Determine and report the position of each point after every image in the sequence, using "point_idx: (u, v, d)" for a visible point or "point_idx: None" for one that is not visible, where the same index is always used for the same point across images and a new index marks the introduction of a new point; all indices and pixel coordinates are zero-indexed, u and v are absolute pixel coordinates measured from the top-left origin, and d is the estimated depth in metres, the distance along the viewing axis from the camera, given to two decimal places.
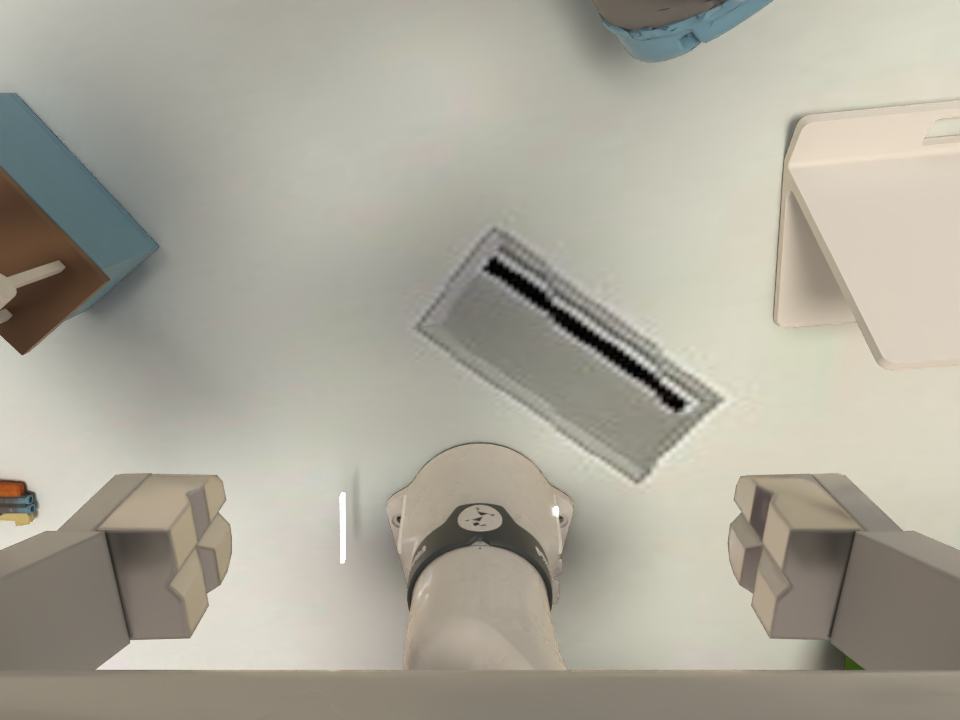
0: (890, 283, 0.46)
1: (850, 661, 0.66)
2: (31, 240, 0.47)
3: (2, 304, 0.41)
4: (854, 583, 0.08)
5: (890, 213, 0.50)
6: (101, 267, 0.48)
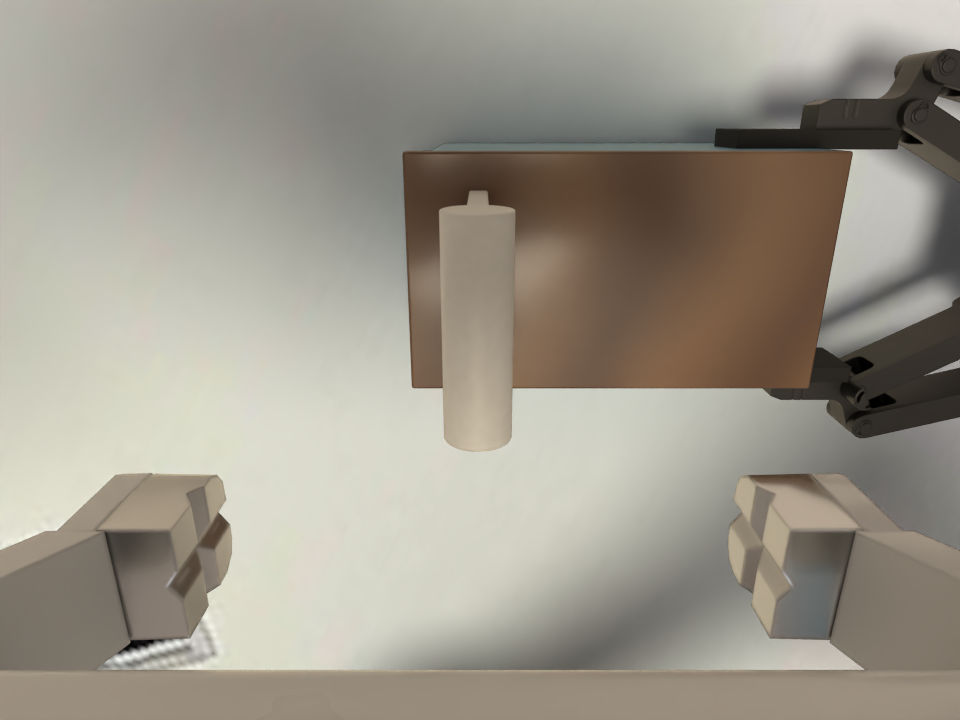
0: None
1: None
2: (539, 346, 0.27)
3: (444, 419, 0.20)
4: (854, 583, 0.08)
5: None
6: None
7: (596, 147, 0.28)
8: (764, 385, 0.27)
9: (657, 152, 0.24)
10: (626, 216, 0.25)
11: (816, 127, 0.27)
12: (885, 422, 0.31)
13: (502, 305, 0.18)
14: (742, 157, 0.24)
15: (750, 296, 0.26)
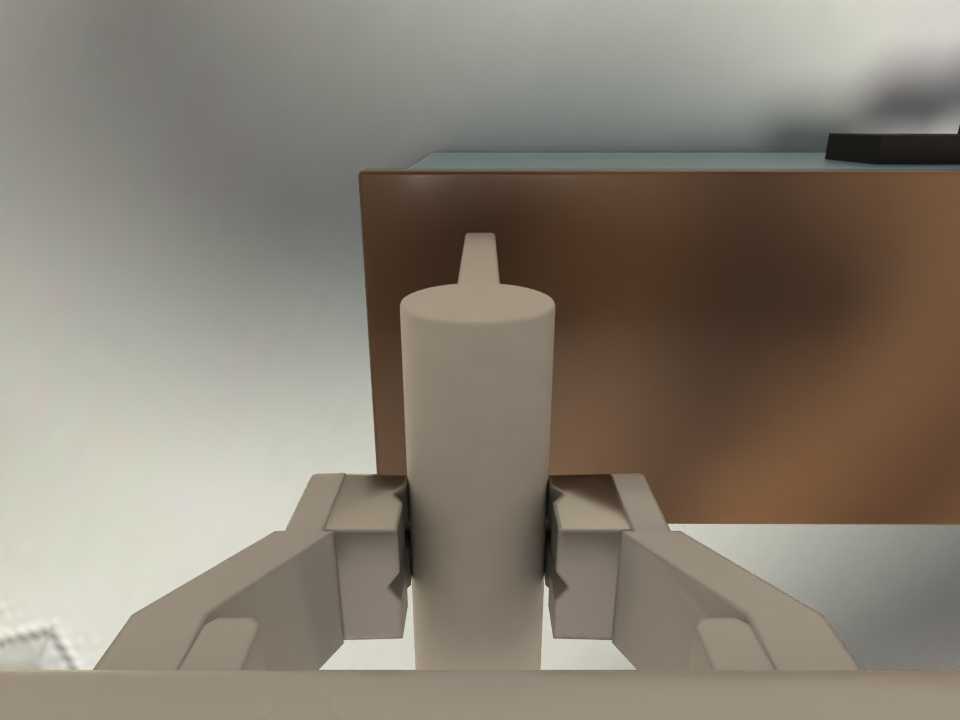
0: None
1: None
2: (572, 465, 0.17)
3: None
4: (624, 583, 0.08)
5: None
6: None
7: (656, 161, 0.18)
8: (911, 521, 0.18)
9: (769, 172, 0.15)
10: (714, 272, 0.16)
11: None
12: None
13: (528, 491, 0.09)
14: (906, 181, 0.15)
15: (900, 393, 0.17)
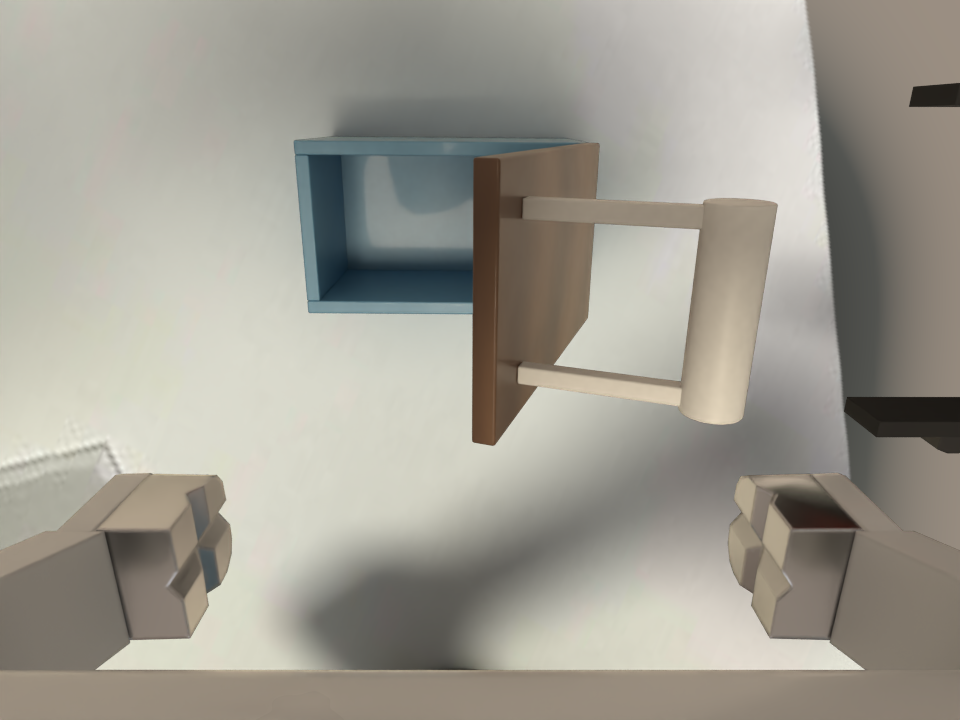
0: None
1: None
2: (537, 348, 0.26)
3: (721, 405, 0.21)
4: (854, 583, 0.08)
5: None
6: (311, 312, 0.38)
7: None
8: (581, 325, 0.35)
9: (569, 148, 0.27)
10: None
11: None
12: None
13: None
14: (584, 150, 0.30)
15: (581, 258, 0.33)
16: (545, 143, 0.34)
